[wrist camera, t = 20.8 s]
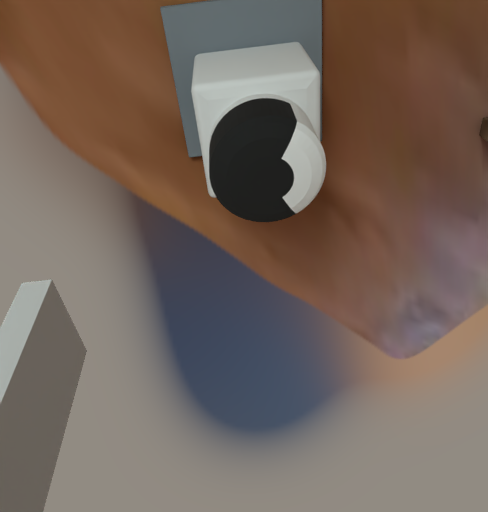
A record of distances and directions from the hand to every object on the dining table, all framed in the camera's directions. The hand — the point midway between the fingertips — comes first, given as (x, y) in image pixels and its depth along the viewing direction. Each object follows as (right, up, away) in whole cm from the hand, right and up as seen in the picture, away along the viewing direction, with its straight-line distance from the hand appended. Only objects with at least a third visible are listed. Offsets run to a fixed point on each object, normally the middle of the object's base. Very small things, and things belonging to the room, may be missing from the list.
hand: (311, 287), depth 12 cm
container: (-1, +13, +23) cm, 27 cm away
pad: (-1, +14, +23) cm, 27 cm away
